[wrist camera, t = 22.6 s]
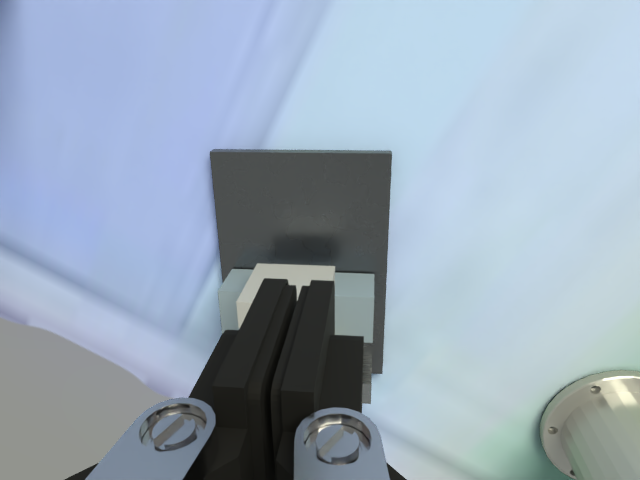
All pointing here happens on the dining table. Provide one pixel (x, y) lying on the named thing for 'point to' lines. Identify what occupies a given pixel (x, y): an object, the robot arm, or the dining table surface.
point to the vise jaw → (349, 293)
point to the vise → (308, 218)
